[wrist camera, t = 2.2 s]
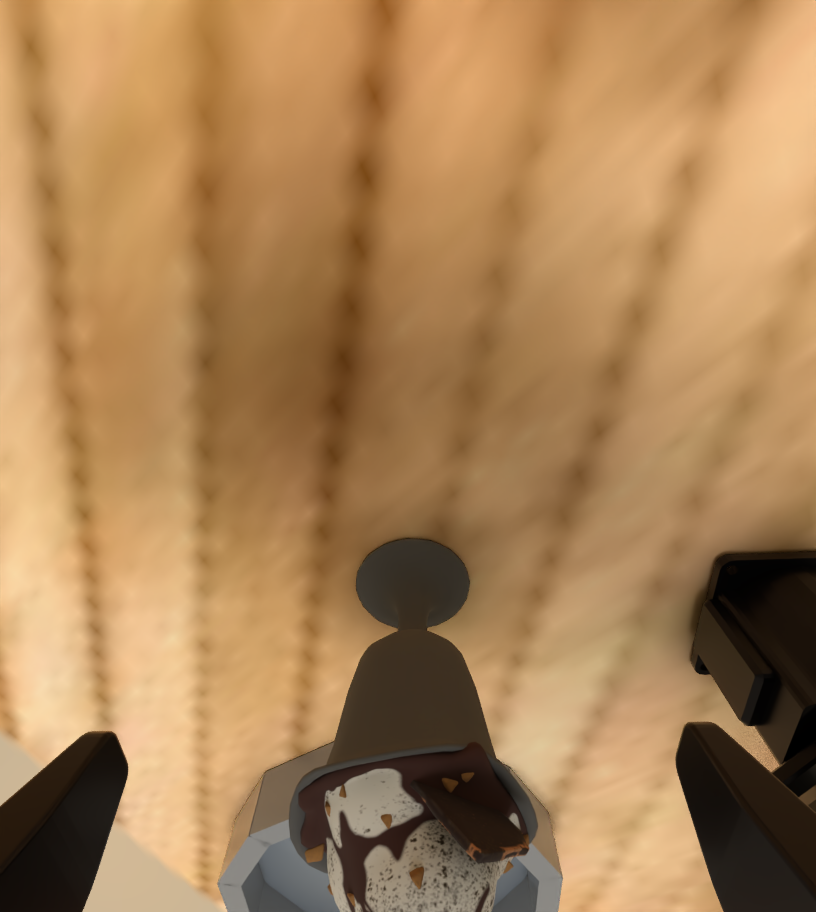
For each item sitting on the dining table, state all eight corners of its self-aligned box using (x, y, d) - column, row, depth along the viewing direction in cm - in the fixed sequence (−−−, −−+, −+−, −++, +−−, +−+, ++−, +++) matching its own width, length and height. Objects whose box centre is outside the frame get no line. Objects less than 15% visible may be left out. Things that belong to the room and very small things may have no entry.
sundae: (366, 655, 25) (313, 1182, 12) (314, 542, 22) (167, 1064, 9) (503, 625, 24) (617, 1157, 11) (467, 503, 22) (560, 1017, 8)
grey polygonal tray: (557, 735, 28) (574, 797, 25) (537, 917, 35) (547, 981, 33) (211, 743, 28) (188, 806, 25) (267, 921, 36) (254, 984, 33)
